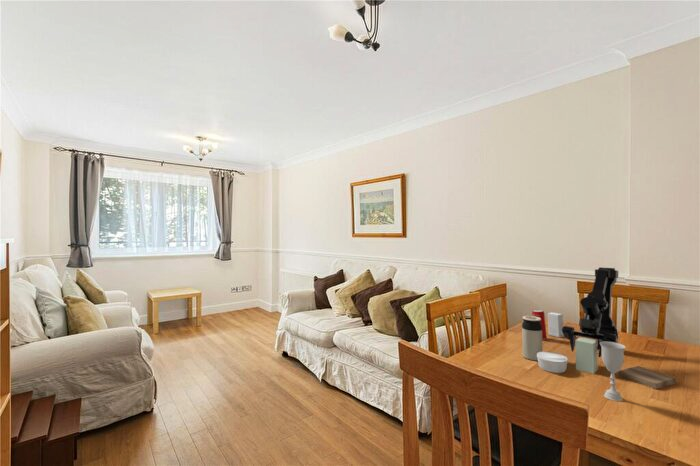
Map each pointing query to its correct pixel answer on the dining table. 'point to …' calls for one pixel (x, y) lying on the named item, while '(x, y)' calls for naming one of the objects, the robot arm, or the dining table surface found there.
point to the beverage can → (541, 315)
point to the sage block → (586, 355)
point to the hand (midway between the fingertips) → (585, 353)
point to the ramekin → (552, 362)
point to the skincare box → (555, 324)
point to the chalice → (612, 365)
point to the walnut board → (647, 377)
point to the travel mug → (531, 337)
